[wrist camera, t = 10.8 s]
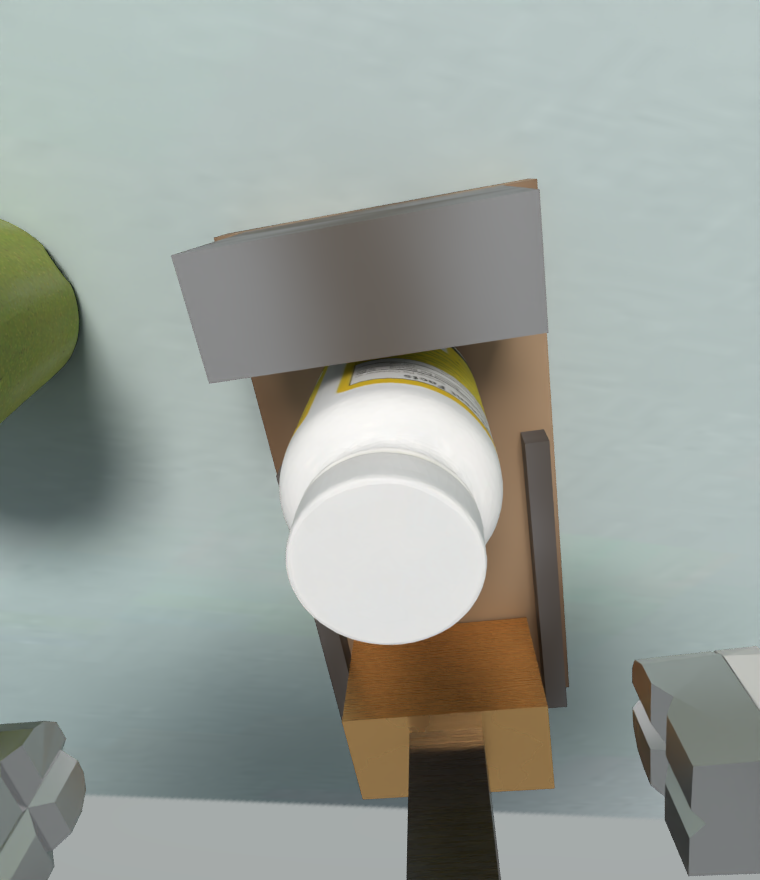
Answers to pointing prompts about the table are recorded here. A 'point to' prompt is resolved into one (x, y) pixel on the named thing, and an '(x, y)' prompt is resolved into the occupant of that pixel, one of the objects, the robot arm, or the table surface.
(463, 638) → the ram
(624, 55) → the table surface
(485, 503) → the supplement bottle
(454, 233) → the frame
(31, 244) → the plant pot
